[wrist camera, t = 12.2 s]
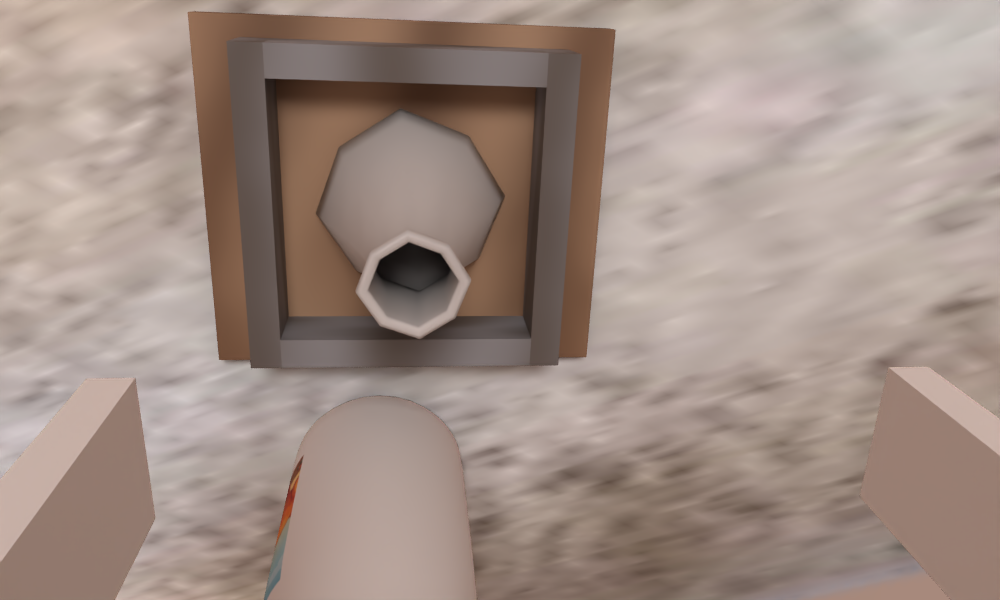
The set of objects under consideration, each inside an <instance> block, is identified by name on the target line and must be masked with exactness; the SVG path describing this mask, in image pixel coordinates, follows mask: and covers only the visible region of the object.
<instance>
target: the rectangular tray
mask: <svg viewBox="0 0 1000 600" xmlns="http://www.w3.org/2000/svg"><path fill="white" fill-rule="evenodd" d="M188 20H189V31H190V42H191V53H192V64H193V75H194V86H195V97H196V109H197V120H198V131H199V142H200V153H201V164H202V175H203V186H204V197H205V208H206V219H207V230H208V241H209V252H210V263H211V275H212V286H213V297H214V308H215V319H216V330H217V341H218V352H219V360H250V363H251V368H322V367H429V366H536V365H558V359H559V357H586V354H587V343H588V332H589V321H590V310H591V298H592V287H593V276H594V265H595V254H596V243H597V231H598V220H599V209H600V198H601V187H602V175H603V164H604V153H605V142H606V131H607V120H608V108H609V97H610V86H611V75H612V64H613V52H614V41H615V30H614V29H606V28H582V27H558V26H534V25H510V24H486V23H462V22H438V21H413V20H389V19H365V18H341V17H317V16H293V15H269V14H245V13H220V12H196V11H194V12H188ZM400 108H401V109H404V110H406V111H409V112H411V113H414V114H416V115H419V116H421V117H424V118H426V119H428V120H431V121H433V122H436V123H438V124H441V125H443V126H446V127H448V128H451V129H453V130H456V131H458V132H461V133H463V134H466V135H468V136H469V137H470V138H471V140H472V142H473V143H474V145H475V147H476V148H477V150H478V152H479V153H480V155H481V157H482V158H483V160H484V162H485V163H486V165H487V167H488V168H489V170H490V172H491V173H492V175H493V176H494V178H495V180H496V181H497V183H498V185H499V186H500V188H501V190H502V191H503V193H504V195H505V197H504V200H503V202H502V205H501V207H500V209H499V212H498V214H497V216H496V219H495V221H494V223H493V226H492V228H491V231H490V233H489V235H488V238H487V240H486V242H485V245H484V247H483V249H482V252H481V254H480V257H479V258H478V259H477V260H475V261H474V262H472V263H471V264H469V265H467V266H466V267H464V268H465V270H466V271H467V273H468V274H469V276H470V278H471V282H470V285H469V287H468V290H467V292H466V294H465V297H464V299H463V301H462V304H461V306H460V308H459V311H458V313H457V316H456V318H455V319H453V320H451V321H450V322H448V323H446V324H445V325H443V326H441V327H440V328H438V329H436V330H434V331H433V332H431V333H429V334H428V335H426V336H424V337H423V338H421V339H417V338H414V337H411V336H408V335H405V334H402V333H399V332H396V331H393V330H390V329H387V328H384V327H381V326H379V324H378V323H377V322H376V320H375V319H374V317H373V316H372V315H371V313H370V312H369V310H368V309H367V308H366V306H365V305H364V303H363V302H362V301H361V299H360V298H359V297H358V295H357V294H356V288H357V285H358V282H359V280H360V277H361V274H362V273H360V272H358V271H356V270H355V268H354V267H353V265H352V264H351V263H350V261H349V260H348V258H347V257H346V256H345V254H344V253H343V251H342V250H341V248H340V247H339V246H338V244H337V243H336V241H335V240H334V239H333V237H332V236H331V234H330V233H329V232H328V230H327V229H326V227H325V226H324V225H323V223H322V222H321V220H320V219H319V218H318V216H317V215H316V211H317V208H318V205H319V202H320V199H321V196H322V193H323V191H324V188H325V185H326V182H327V179H328V176H329V173H330V170H331V168H332V165H333V162H334V159H335V156H336V153H337V150H338V148H339V147H340V146H341V145H343V144H344V143H346V142H348V141H349V140H351V139H352V138H354V137H356V136H357V135H359V134H360V133H362V132H364V131H365V130H367V129H368V128H370V127H372V126H373V125H375V124H376V123H378V122H380V121H381V120H383V119H384V118H386V117H388V116H389V115H391V114H392V113H394V112H396V111H397V110H399V109H400Z"/></svg>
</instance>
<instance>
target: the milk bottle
mask: <svg viewBox="0 0 1000 600" xmlns="http://www.w3.org/2000/svg"><path fill="white" fill-rule="evenodd" d="M264 600H477V592H476V582H475V573H474V563H473V554H472V544H471V535H470V527H469V519H468V510H467V502H466V493H465V485H464V477H463V470H462V463H461V458H460V453H459V449H458V446H457V443H456V440H455V439H454V437H453V435H452V433H451V432H450V430H449V429H448V427H447V426H446V425H445V424H444V423H443V422H442V421H441V420H440V419H439V418H438V417H437V416H436V415H435V414H433V413H432V412H430V411H429V410H427V409H426V408H425V407H423V406H420V405H418V404H416V403H414V402H412V401H410V400H405V399H401V398H398V397H391V396H371V397H362V398H359V399H355V400H351V401H348V402H346V403H344V404H342V405H339V406H337V407H335V408H333V409H332V410H330V411H329V412H327V413H326V414H324V415H323V416H322V417H321V418H319V419H318V420H317V421H316V422H315V423H314V424H313V426H312V427H311V428H310V429H309V430H308V432H307V434H306V435H305V437H304V439H303V441H302V442H301V445H300V448H299V450H298V454H297V457H296V460H295V464H294V468H293V473H292V477H291V481H290V485H289V489H288V494H287V498H286V502H285V507H284V511H283V515H282V520H281V524H280V528H279V533H278V537H277V541H276V546H275V551H274V555H273V560H272V564H271V569H270V574H269V578H268V583H267V587H266V592H265V597H264Z"/></svg>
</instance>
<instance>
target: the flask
mask: <svg viewBox="0 0 1000 600" xmlns="http://www.w3.org/2000/svg"><path fill="white" fill-rule="evenodd" d="M504 197H505V195H504V193H503V191H502V190H501V188H500V186H499V185H498V183H497V181H496V180H495V178H494V176H493V175H492V173H491V172H490V170H489V168H488V167H487V165H486V163H485V162H484V160H483V158H482V157H481V155H480V153H479V152H478V150H477V148H476V147H475V145H474V143H473V142H472V140H471V138H470V137H469V136H468V135H466V134H463V133H461V132H458V131H456V130H453V129H451V128H448V127H446V126H443V125H441V124H438V123H436V122H433V121H431V120H428V119H426V118H424V117H421V116H419V115H416V114H414V113H411V112H409V111H406V110H404V109H401V108H400V109H399V110H397V111H396V112H394V113H392V114H391V115H389V116H388V117H386V118H384V119H383V120H381V121H380V122H378V123H376V124H375V125H373V126H372V127H370V128H368V129H367V130H365V131H364V132H362V133H360V134H359V135H357V136H356V137H354V138H352V139H351V140H349V141H348V142H346V143H344V144H343V145H341V146H340V147H339V148H338V150H337V153H336V156H335V159H334V162H333V165H332V168H331V170H330V173H329V176H328V179H327V182H326V185H325V188H324V191H323V193H322V196H321V199H320V202H319V205H318V208H317V211H316V215H317V216H318V218H319V219H320V220H321V222H322V223H323V225H324V226H325V227H326V229H327V230H328V232H329V233H330V234H331V236H332V237H333V239H334V240H335V241H336V243H337V244H338V246H339V247H340V248H341V250H342V251H343V253H344V254H345V256H346V257H347V258H348V260H349V261H350V263H351V264H352V265H353V267H354V268H355V270H356V271H358V272H360V273H362V274H361V277H360V280H359V282H358V285H357V288H356V294H357V295H358V297H359V298H360V299H361V301H362V302H363V303H364V305H365V306H366V308H367V309H368V310H369V312H370V313H371V315H372V316H373V317H374V319H375V320H376V322H377V323H378V324H379V326H381V327H384V328H387V329H390V330H393V331H396V332H399V333H402V334H405V335H408V336H411V337H414V338H417V339H421V338H423V337H424V336H426V335H428V334H429V333H431V332H433V331H434V330H436V329H438V328H440V327H441V326H443V325H445V324H446V323H448V322H450V321H451V320H453V319H455V318H456V316H457V313H458V311H459V308H460V306H461V304H462V301H463V299H464V297H465V294H466V292H467V290H468V287H469V285H470V282H471V278H470V276H469V274H468V273H467V271H466V270H465V268H464V267H466V266H467V265H469V264H471V263H472V262H474V261H475V260H477V259H478V258H479V257H480V254H481V252H482V249H483V247H484V245H485V242H486V240H487V238H488V235H489V233H490V231H491V228H492V226H493V223H494V221H495V219H496V216H497V214H498V212H499V209H500V207H501V205H502V202H503V200H504Z"/></svg>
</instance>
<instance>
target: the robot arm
mask: <svg viewBox="0 0 1000 600" xmlns="http://www.w3.org/2000/svg"><path fill="white" fill-rule="evenodd" d="M860 497H861V498H862V500H863V501H864V502H865V503H866V504H867V505H868V506H869V508H870V509H871V510H872V511H873V512H874V513H875V514H876V516H877V517H878V518H879V519H880V520H881V521H882V522H883V523H884V525H885V526H886V527H887V528H888V529H889V530H890V531H891V533H892V534H893V535H894V536H895V537H896V538H897V539H898V541H899V542H900V543H901V544H902V545H903V546H904V547H905V548H906V550H907V551H908V552H909V553H910V554H911V555H912V556H913V558H914V559H915V560H916V561H917V562H918V563H919V564H920V566H921V567H922V568H923V569H924V570H925V571H926V572H927V573H928V575H929V576H930V577H931V578H932V579H933V580H934V581H935V583H936V584H937V585H938V586H939V587H940V588H941V589H942V591H943V592H944V593H945V594H946V595H947V596H948V597H949V599H950V600H1000V419H999V418H998V417H996V416H995V415H993V414H992V413H991V412H989V411H988V410H987V409H985V408H984V407H983V406H981V405H980V404H978V403H977V402H976V401H974V400H973V399H972V398H970V397H969V396H967V395H966V394H965V393H963V392H962V391H961V390H959V389H958V388H957V387H955V386H954V385H952V384H951V383H950V382H948V381H947V380H946V379H944V378H943V377H941V376H940V375H939V374H937V373H936V372H935V371H933V370H932V369H931V368H929V367H889V368H888V372H887V377H886V381H885V385H884V390H883V394H882V399H881V403H880V408H879V412H878V416H877V421H876V425H875V430H874V434H873V439H872V443H871V448H870V452H869V456H868V461H867V465H866V470H865V474H864V479H863V483H862V487H861V492H860ZM154 520H155V512H154V505H153V498H152V491H151V484H150V477H149V470H148V463H147V456H146V449H145V442H144V435H143V428H142V421H141V414H140V407H139V401H138V394H137V387H136V380H135V378H96V379H86V380H85V381H84V382H83V383H82V385H81V386H80V387H79V388H78V389H77V390H76V392H75V393H74V394H73V395H72V396H71V397H70V399H69V400H68V401H67V402H66V403H65V404H64V406H63V407H62V408H61V409H60V410H59V411H58V413H57V414H56V415H55V416H54V417H53V418H52V420H51V421H50V422H49V423H48V424H47V425H46V427H45V428H44V429H43V430H42V431H41V432H40V434H39V435H38V436H37V437H36V438H35V439H34V441H33V442H32V443H31V444H30V445H29V446H28V448H27V449H26V450H25V451H24V452H23V454H22V455H21V456H20V457H19V458H18V459H17V461H16V462H15V463H14V464H13V465H12V466H11V468H10V469H9V470H8V471H7V472H6V473H5V475H4V476H3V477H2V478H1V479H0V600H115V599H116V597H117V594H118V592H119V590H120V588H121V586H122V584H123V582H124V580H125V578H126V576H127V574H128V572H129V570H130V568H131V566H132V564H133V562H134V560H135V558H136V556H137V554H138V552H139V550H140V548H141V546H142V544H143V542H144V540H145V538H146V536H147V534H148V532H149V530H150V528H151V526H152V524H153V522H154Z"/></svg>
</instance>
